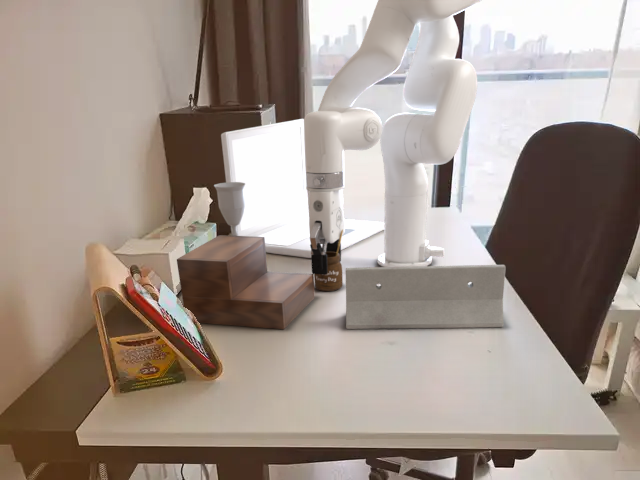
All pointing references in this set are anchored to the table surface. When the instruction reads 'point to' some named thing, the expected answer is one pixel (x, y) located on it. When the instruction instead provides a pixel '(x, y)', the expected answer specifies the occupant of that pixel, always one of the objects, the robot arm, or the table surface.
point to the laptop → (278, 188)
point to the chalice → (231, 202)
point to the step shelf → (241, 285)
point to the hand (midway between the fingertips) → (326, 267)
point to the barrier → (425, 297)
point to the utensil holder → (331, 272)
